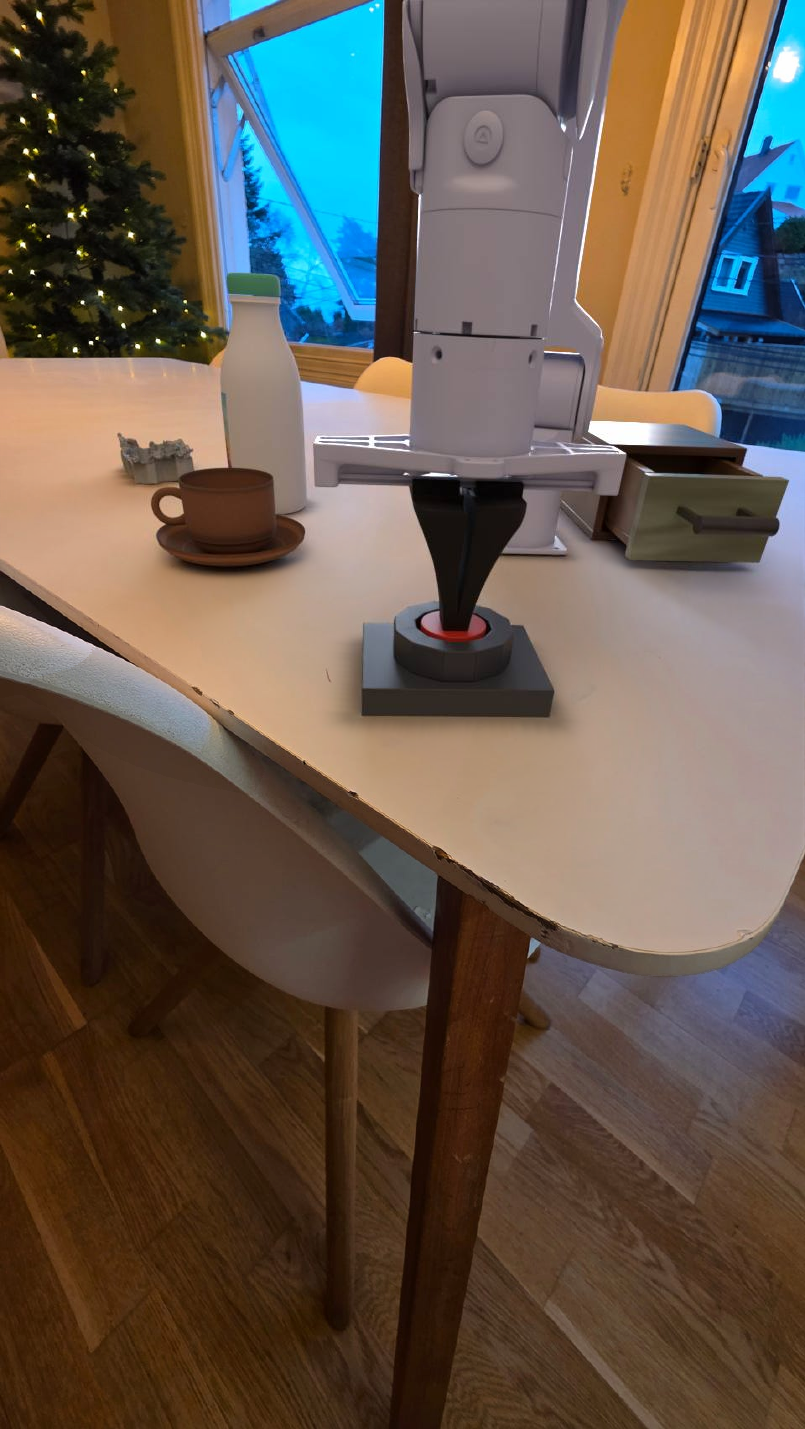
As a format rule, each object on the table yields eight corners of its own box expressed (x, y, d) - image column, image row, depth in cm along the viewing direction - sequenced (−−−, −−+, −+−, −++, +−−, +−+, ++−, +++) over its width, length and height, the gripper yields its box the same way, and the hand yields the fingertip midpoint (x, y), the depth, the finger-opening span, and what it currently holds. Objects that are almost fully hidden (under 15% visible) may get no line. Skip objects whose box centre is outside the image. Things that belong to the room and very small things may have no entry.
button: (421, 666, 34) (423, 637, 33) (417, 636, 37) (418, 609, 36) (487, 667, 34) (491, 638, 33) (477, 637, 37) (481, 610, 36)
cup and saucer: (168, 587, 46) (153, 501, 43) (153, 538, 55) (140, 465, 52) (324, 569, 51) (321, 491, 47) (286, 527, 60) (281, 459, 56)
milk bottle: (322, 505, 67) (315, 277, 56) (272, 521, 61) (254, 271, 50) (268, 493, 70) (251, 275, 59) (216, 507, 64) (187, 270, 54)
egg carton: (121, 467, 78) (113, 431, 76) (183, 463, 81) (177, 429, 79) (132, 486, 70) (124, 447, 68) (200, 481, 73) (195, 444, 71)
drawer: (792, 584, 49) (827, 496, 46) (651, 581, 49) (675, 491, 45) (695, 521, 64) (716, 449, 60) (586, 518, 63) (600, 446, 59)
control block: (361, 716, 33) (361, 657, 31) (363, 646, 39) (363, 594, 37) (549, 718, 33) (561, 660, 31) (519, 649, 40) (527, 597, 38)
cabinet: (718, 542, 61) (748, 448, 56) (591, 539, 60) (610, 443, 55) (663, 505, 72) (684, 424, 67) (555, 502, 71) (569, 420, 67)
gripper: (301, 331, 23) (315, 655, 31) (681, 347, 24) (605, 659, 31) (315, 326, 29) (324, 599, 36) (619, 339, 30) (568, 604, 37)
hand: (453, 623), depth 34 cm, fingers closed, pressing on button
